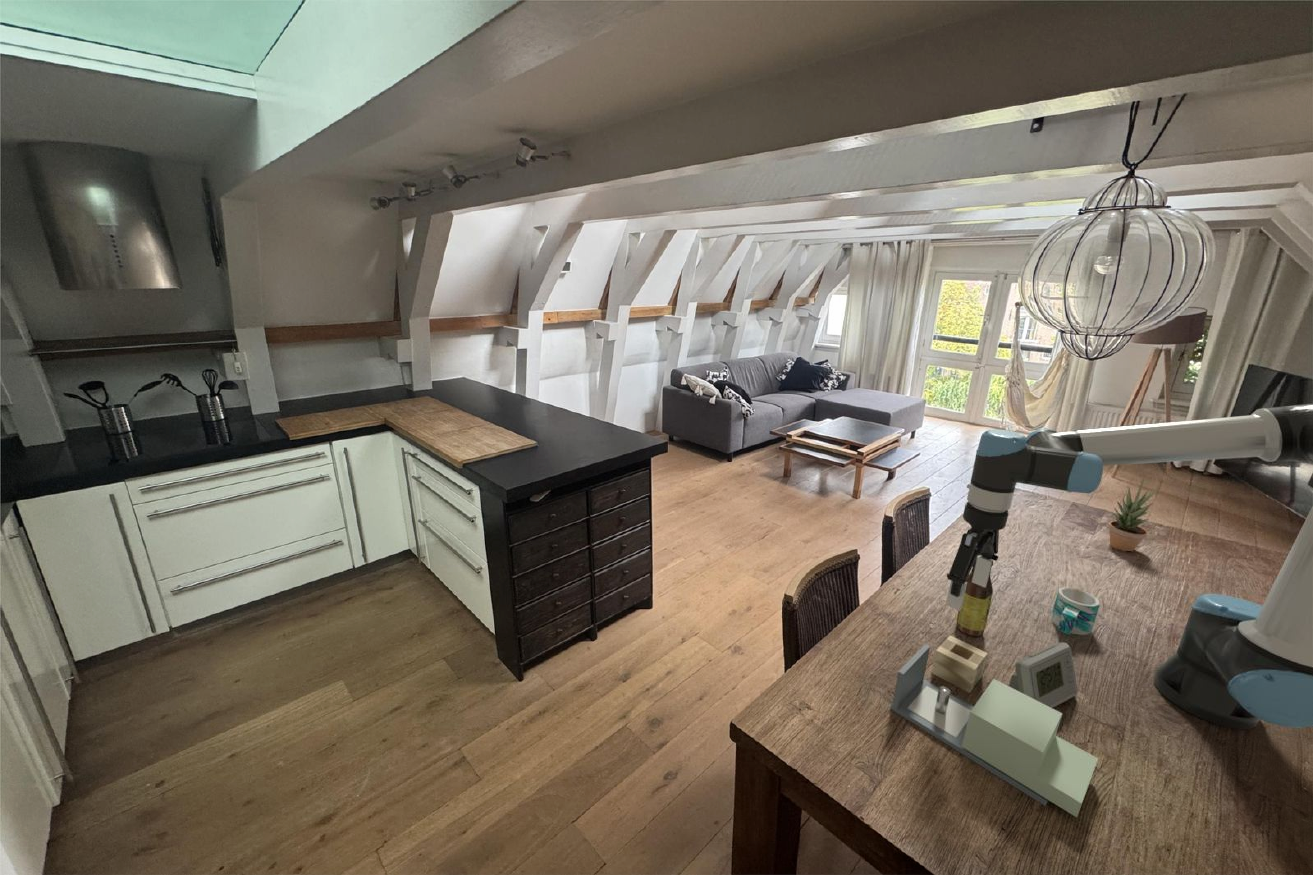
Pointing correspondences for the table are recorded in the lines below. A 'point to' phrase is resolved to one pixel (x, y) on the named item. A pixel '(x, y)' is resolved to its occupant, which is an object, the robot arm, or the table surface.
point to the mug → (1075, 611)
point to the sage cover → (1028, 745)
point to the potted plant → (1129, 522)
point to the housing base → (919, 708)
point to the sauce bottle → (975, 606)
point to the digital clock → (1047, 675)
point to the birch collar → (959, 663)
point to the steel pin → (942, 700)
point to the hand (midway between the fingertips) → (966, 595)
